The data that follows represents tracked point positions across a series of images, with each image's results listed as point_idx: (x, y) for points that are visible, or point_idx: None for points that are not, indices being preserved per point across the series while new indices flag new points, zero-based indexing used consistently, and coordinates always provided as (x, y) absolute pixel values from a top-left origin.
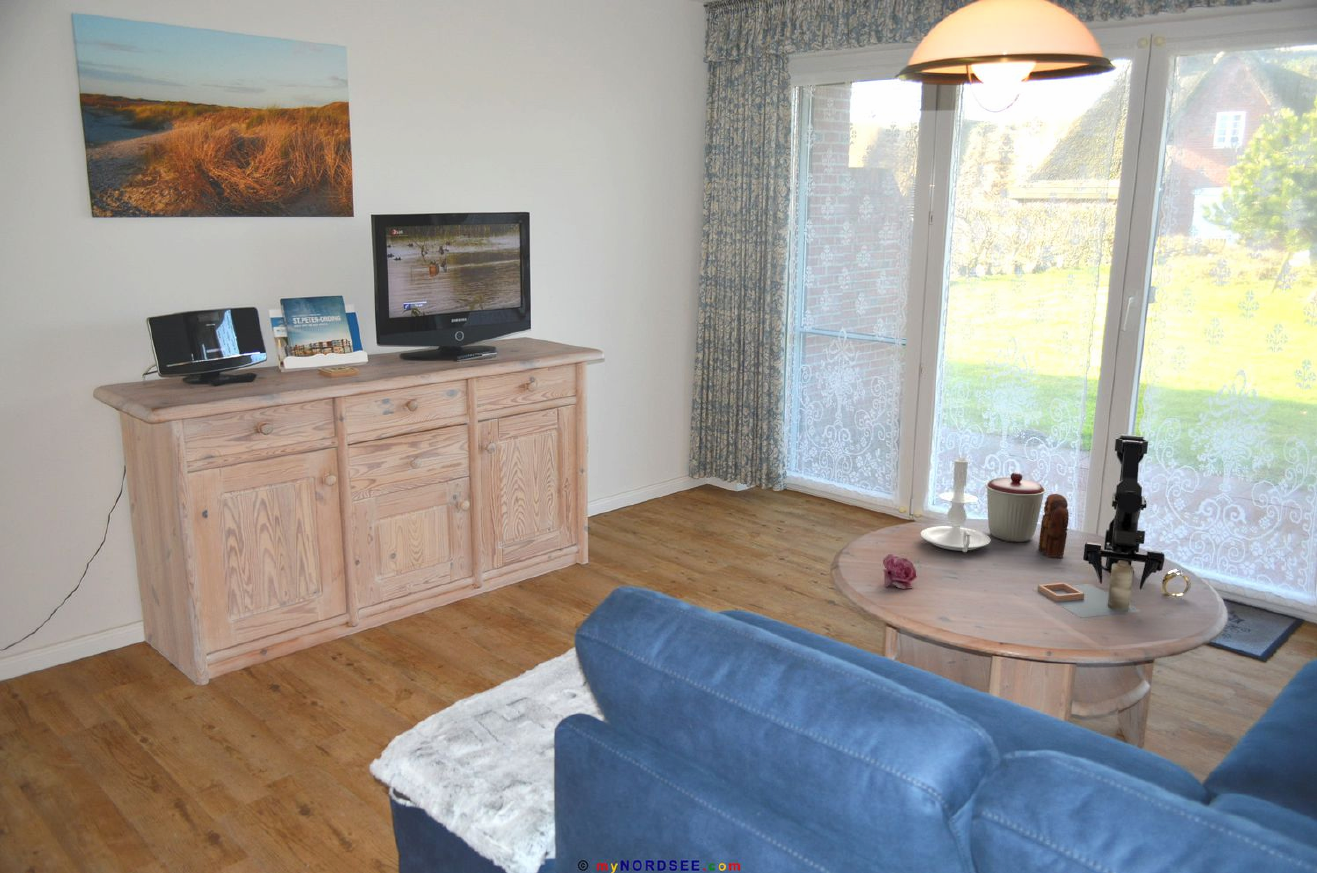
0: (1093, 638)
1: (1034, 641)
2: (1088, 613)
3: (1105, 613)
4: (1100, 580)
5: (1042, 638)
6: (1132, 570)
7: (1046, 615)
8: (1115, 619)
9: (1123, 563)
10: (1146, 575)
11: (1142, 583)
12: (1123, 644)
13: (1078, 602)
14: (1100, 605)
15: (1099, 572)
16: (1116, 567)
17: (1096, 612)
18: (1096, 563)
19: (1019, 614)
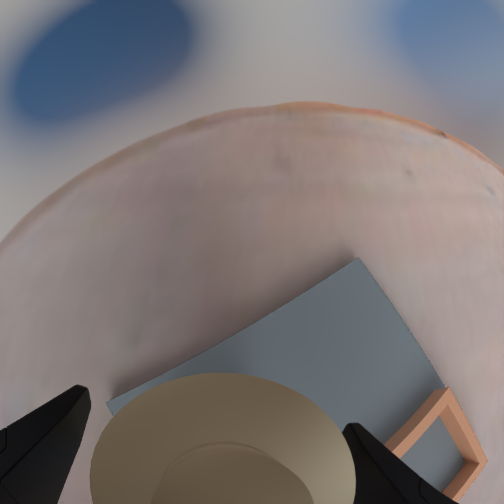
0: (310, 156)
1: (410, 138)
2: (338, 307)
3: (274, 330)
4: (361, 425)
5: (404, 149)
6: (112, 423)
7: (436, 285)
8: (230, 324)
9: (240, 450)
10: (6, 431)
11: (60, 398)
12: (236, 135)
13: (372, 420)
14: None
15: (395, 462)
16: (316, 419)
17: (309, 330)
18: (451, 502)
19: (477, 270)
